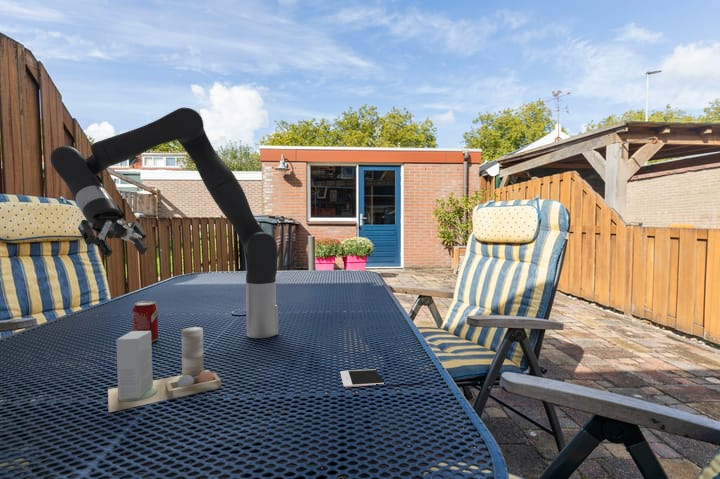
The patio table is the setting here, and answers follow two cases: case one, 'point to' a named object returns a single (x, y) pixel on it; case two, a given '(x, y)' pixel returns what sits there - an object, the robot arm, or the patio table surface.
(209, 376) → the ball
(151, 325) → the soda can
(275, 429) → the patio table surface
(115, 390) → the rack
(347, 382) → the cell phone
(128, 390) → the skincare box
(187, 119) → the robot arm
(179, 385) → the ball
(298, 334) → the patio table surface
